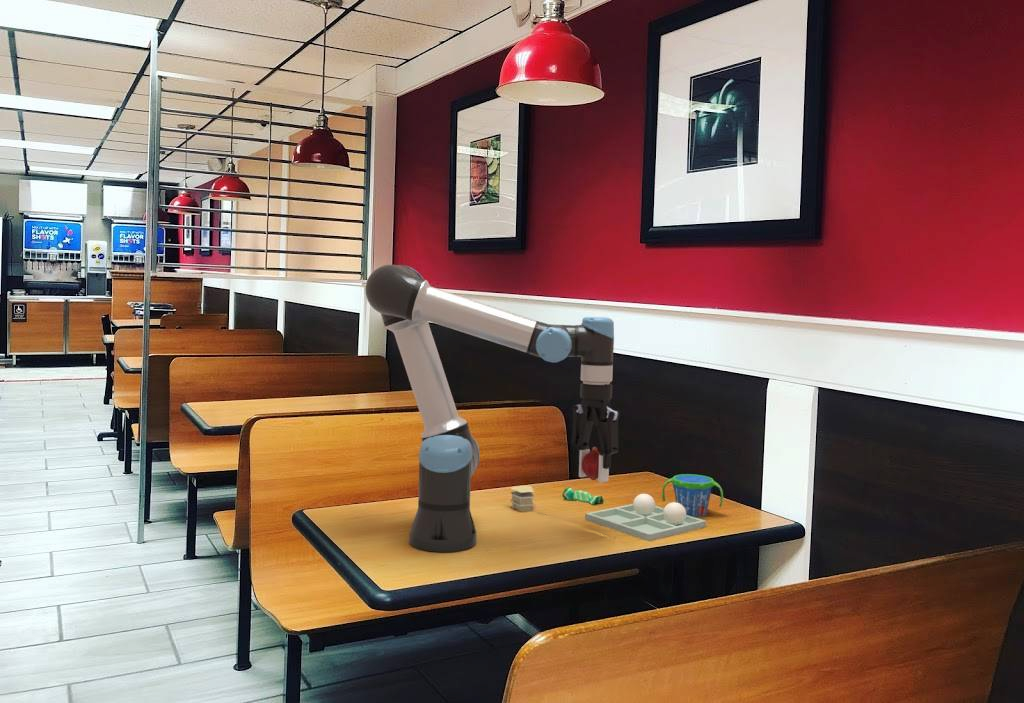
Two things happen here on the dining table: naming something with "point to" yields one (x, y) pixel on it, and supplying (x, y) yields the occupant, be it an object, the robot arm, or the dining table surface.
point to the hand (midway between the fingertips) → (593, 478)
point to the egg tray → (642, 522)
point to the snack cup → (693, 493)
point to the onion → (591, 464)
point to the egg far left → (644, 504)
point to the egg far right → (674, 513)
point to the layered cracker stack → (522, 498)
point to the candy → (581, 496)
